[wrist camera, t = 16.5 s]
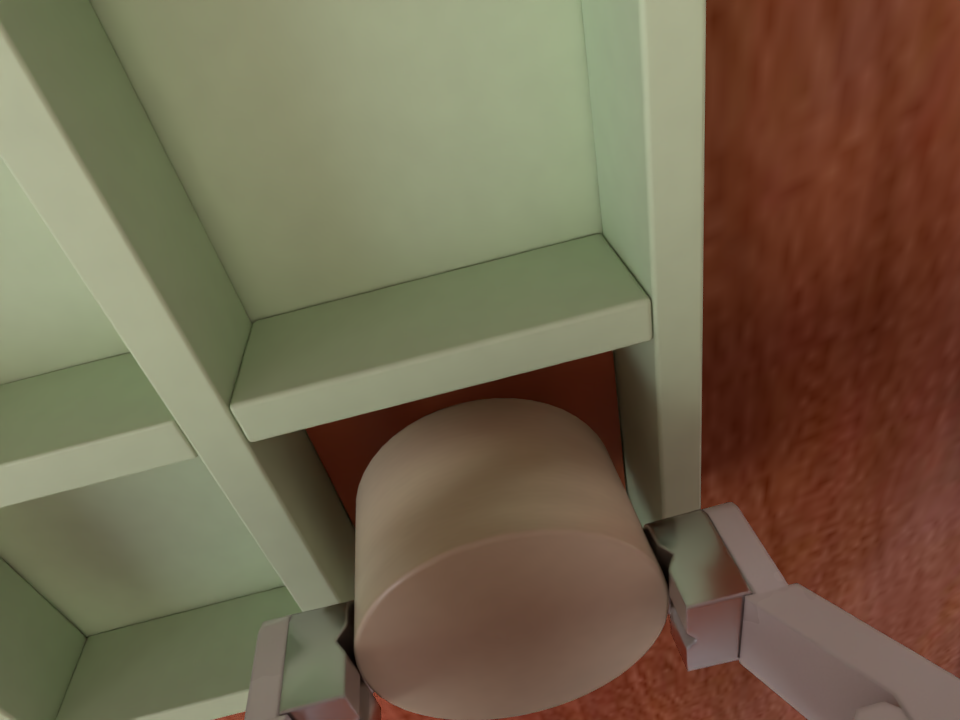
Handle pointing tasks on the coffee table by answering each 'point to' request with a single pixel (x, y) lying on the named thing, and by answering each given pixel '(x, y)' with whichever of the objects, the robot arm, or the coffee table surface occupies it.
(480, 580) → the cylinder
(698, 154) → the grid
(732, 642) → the robot arm
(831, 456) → the coffee table surface
